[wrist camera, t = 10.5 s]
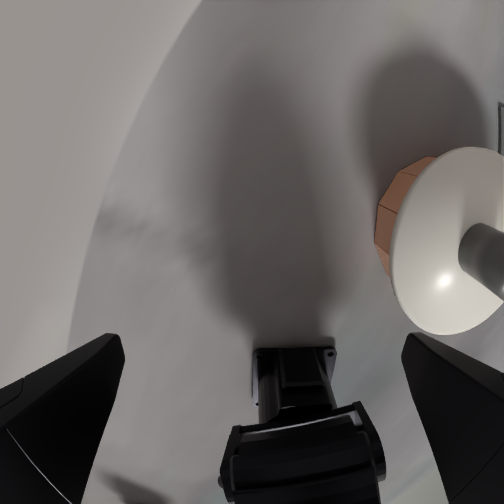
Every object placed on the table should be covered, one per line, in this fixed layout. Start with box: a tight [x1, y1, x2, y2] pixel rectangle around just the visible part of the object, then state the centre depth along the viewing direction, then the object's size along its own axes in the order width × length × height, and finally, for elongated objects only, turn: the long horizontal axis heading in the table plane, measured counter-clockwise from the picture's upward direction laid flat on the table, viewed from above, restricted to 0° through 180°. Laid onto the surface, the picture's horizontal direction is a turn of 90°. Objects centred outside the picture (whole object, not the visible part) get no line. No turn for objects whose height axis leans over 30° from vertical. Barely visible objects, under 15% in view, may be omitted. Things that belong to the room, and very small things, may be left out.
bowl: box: [374, 156, 437, 276], centre depth 17 cm, size 10×10×4 cm
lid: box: [389, 147, 504, 335], centre depth 13 cm, size 12×12×5 cm
